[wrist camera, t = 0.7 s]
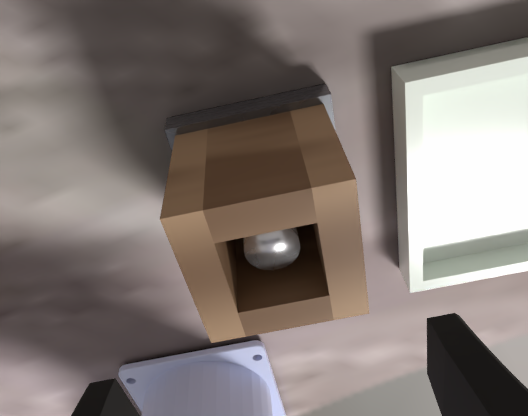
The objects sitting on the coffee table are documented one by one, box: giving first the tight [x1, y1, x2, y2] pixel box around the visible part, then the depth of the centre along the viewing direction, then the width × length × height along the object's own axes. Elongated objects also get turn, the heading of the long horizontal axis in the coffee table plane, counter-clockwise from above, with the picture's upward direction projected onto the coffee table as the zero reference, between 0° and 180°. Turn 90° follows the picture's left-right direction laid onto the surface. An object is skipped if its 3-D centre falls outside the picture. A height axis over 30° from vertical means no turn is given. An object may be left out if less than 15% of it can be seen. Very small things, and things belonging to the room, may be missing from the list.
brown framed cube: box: [160, 104, 369, 343], centre depth 16 cm, size 5×5×5 cm
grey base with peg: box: [164, 84, 335, 270], centre depth 17 cm, size 6×6×5 cm
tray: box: [391, 37, 528, 293], centre depth 19 cm, size 10×10×2 cm
